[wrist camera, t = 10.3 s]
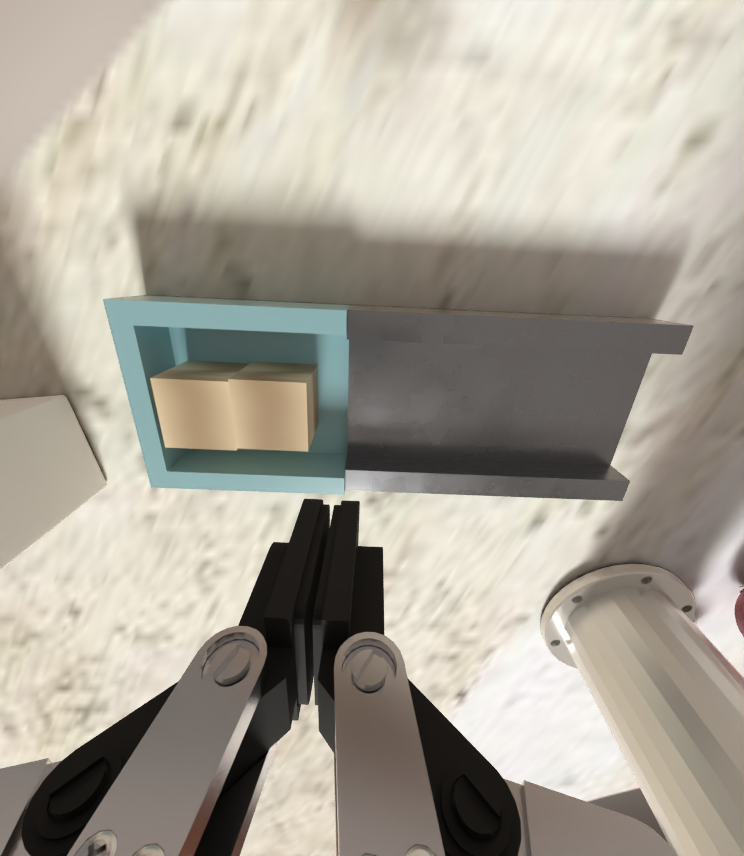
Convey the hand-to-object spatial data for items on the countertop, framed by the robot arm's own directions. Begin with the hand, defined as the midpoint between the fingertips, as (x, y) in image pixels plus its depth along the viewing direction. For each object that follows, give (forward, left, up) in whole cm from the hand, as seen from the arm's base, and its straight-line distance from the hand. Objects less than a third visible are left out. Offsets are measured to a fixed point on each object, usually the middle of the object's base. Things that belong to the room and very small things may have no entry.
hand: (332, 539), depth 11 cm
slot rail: (-7, -5, -13) cm, 16 cm away
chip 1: (+7, +5, -13) cm, 15 cm away
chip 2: (+4, +2, -13) cm, 14 cm away
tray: (+5, +3, -13) cm, 15 cm away
